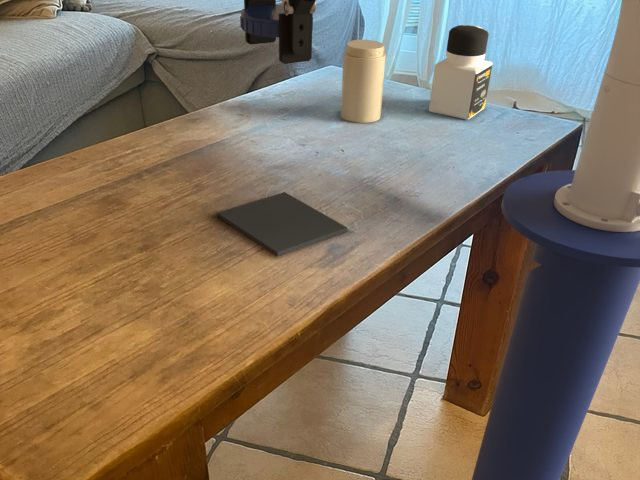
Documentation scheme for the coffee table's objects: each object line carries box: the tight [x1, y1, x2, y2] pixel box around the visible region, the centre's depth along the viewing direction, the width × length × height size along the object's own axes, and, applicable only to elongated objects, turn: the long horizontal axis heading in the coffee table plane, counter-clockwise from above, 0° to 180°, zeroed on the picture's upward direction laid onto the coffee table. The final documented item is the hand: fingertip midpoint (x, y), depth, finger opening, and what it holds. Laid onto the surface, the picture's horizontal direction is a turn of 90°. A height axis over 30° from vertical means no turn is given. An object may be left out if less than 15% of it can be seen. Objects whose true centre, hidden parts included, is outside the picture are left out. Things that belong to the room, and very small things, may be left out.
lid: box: [239, 4, 314, 38], centre depth 63 cm, size 7×7×1 cm
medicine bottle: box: [428, 24, 493, 121], centre depth 105 cm, size 7×7×12 cm
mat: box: [216, 191, 348, 257], centre depth 77 cm, size 12×10×1 cm
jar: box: [340, 39, 387, 124], centre depth 102 cm, size 6×6×10 cm
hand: (277, 50), depth 65 cm, fingers closed on lid, 6 cm apart
